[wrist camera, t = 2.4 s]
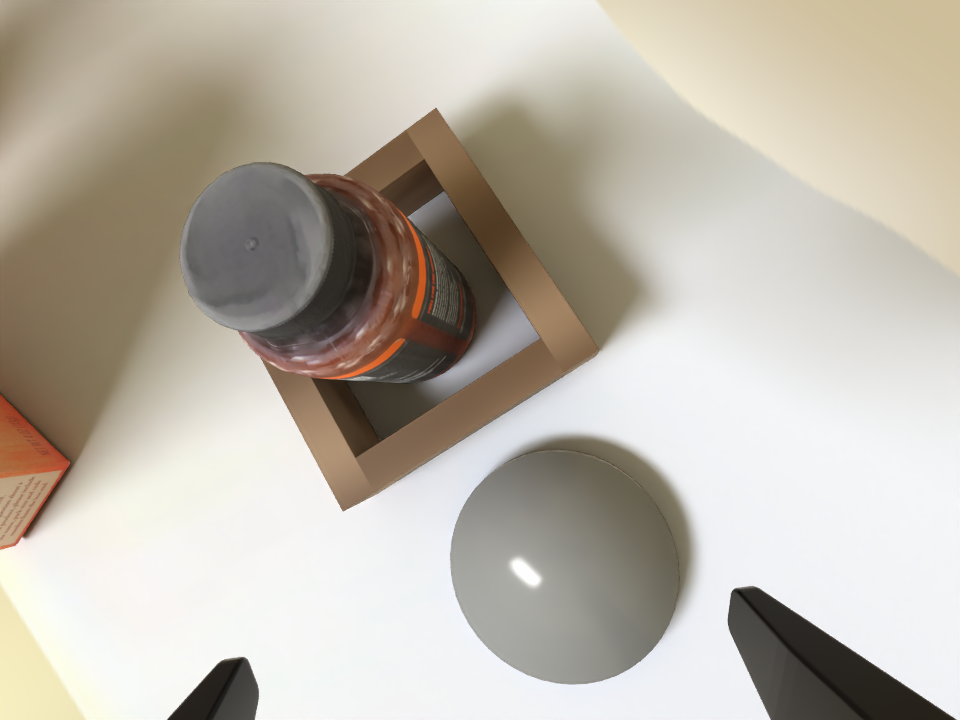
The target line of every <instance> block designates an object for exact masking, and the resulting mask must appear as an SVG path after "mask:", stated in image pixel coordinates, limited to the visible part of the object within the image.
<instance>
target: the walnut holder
mask: <svg viewBox="0 0 960 720" xmlns="http://www.w3.org/2000/svg"><path fill="white" fill-rule="evenodd" d="M344 176H346V177H350V178H353V179H356V180H358V181H360V182H362V183H364V184H366V185H368V186H370V187H372V188H374V189H375V190H377V191H378V192H379V193H381V194H382V195H383V196H385V197H386V198H387V199H388V200H389V201H391V202H392V203H393V204H394V205H395V207H396V208H397V209H398V210H400V211H401V212H402V213H403V214H404V215H405V216H406V217H407V216H409V215H410V214H411V213H413V212H414V211H416V210H417V209H418V208H420V207H421V206H423V205H424V204H426V203H427V202H428V201H430V200H431V199H433V198H434V197H435V196H437V195H438V194H440V193H441V192H442V191H445V192H446V194H447V195H448V197H449V198H450V200H451V201H452V203H453V204H454V206H455V207H456V209H457V211H458V212H459V214H460V215H461V217H462V218H463V220H464V221H465V223H466V224H467V226H468V227H469V229H470V230H471V232H472V234H473V235H474V237H475V238H476V240H477V241H478V243H479V244H480V246H481V247H482V249H483V250H484V252H485V253H486V255H487V257H488V258H489V260H490V261H491V263H492V264H493V266H494V267H495V269H496V270H497V272H498V273H499V275H500V276H501V278H502V280H503V281H504V283H505V284H506V286H507V287H508V289H509V290H510V292H511V293H512V295H513V296H514V298H515V299H516V301H517V303H518V304H519V306H520V307H521V309H522V310H523V312H524V313H525V315H526V316H527V318H528V319H529V321H530V322H531V324H532V326H533V327H534V329H535V330H536V332H537V333H538V335H539V336H540V338H541V339H539V340H538V341H536V342H534V343H533V344H531V345H530V346H528V347H527V348H525V349H524V350H522V351H521V352H519V353H517V354H516V355H514V356H513V357H511V358H510V359H508V360H507V361H505V362H503V363H502V364H500V365H499V366H497V367H496V368H494V369H493V370H491V371H490V372H488V373H486V374H485V375H483V376H482V377H480V378H479V379H477V380H476V381H474V382H472V383H471V384H469V385H468V386H466V387H465V388H463V389H462V390H460V391H459V392H457V393H455V394H454V395H452V396H451V397H449V398H448V399H446V400H445V401H443V402H441V403H440V404H438V405H437V406H435V407H434V408H432V409H431V410H429V411H428V412H426V413H424V414H423V415H421V416H420V417H418V418H417V419H415V420H414V421H412V422H410V423H409V424H407V425H406V426H404V427H403V428H401V429H400V430H398V431H397V432H395V433H393V434H392V435H390V436H389V437H387V438H386V439H384V440H383V441H381V442H380V440H379V439H378V437H377V435H376V433H375V431H374V430H373V428H372V426H371V424H370V423H369V421H368V419H367V417H366V415H365V414H364V412H363V410H362V408H361V407H360V405H359V403H358V401H357V400H356V398H355V396H354V394H353V392H352V391H351V389H350V387H349V385H348V384H347V382H346V380H336V379H333V380H331V379H323V378H312V377H305V376H300V375H296V374H292V373H289V372H285V371H283V370H281V369H279V368H277V367H275V366H273V365H271V364H269V363H268V362H266V361H265V360H264V359H262V358H261V359H262V361H263V363H264V365H265V367H266V369H267V370H268V372H269V374H270V376H271V378H272V380H273V382H274V384H275V385H276V387H277V389H278V391H279V393H280V395H281V397H282V398H283V400H284V402H285V404H286V406H287V408H288V410H289V412H290V413H291V415H292V417H293V419H294V421H295V423H296V425H297V427H298V428H299V430H300V432H301V434H302V436H303V438H304V440H305V442H306V443H307V445H308V447H309V449H310V451H311V453H312V455H313V456H314V458H315V460H316V462H317V464H318V466H319V468H320V470H321V471H322V473H323V475H324V477H325V479H326V481H327V483H328V485H329V486H330V488H331V490H332V492H333V494H334V496H335V498H336V500H337V501H338V503H339V505H340V507H341V509H342V511H345V510H347V509H349V508H351V507H353V506H355V505H357V504H359V503H361V502H363V501H364V500H366V499H368V498H370V497H372V496H374V495H376V494H377V493H379V492H381V491H382V490H384V489H385V488H387V487H389V486H390V485H392V484H393V483H395V482H397V481H398V480H400V479H401V478H403V477H404V476H406V475H408V474H409V473H411V472H412V471H414V470H416V469H417V468H419V467H420V466H422V465H424V464H425V463H427V462H428V461H430V460H432V459H433V458H435V457H436V456H438V455H439V454H441V453H443V452H444V451H446V450H447V449H449V448H451V447H452V446H454V445H455V444H457V443H459V442H460V441H462V440H463V439H465V438H466V437H468V436H470V435H471V434H473V433H474V432H476V431H478V430H479V429H481V428H482V427H484V426H486V425H487V424H489V423H490V422H492V421H493V420H495V419H497V418H498V417H500V416H501V415H503V414H505V413H506V412H508V411H509V410H511V409H513V408H514V407H516V406H517V405H519V404H520V403H522V402H524V401H525V400H527V399H528V398H530V397H532V396H533V395H535V394H536V393H538V392H540V391H541V390H543V389H544V388H546V387H547V386H549V385H551V384H552V383H554V382H555V381H557V380H559V379H560V378H562V377H563V376H565V375H567V374H568V373H570V372H571V371H573V370H575V369H576V368H578V367H579V366H581V365H582V364H584V363H586V362H587V361H589V360H590V359H592V358H594V357H595V356H596V354H597V353H598V351H599V349H598V347H597V346H596V344H595V343H594V341H593V340H592V339H591V337H590V336H589V334H588V333H587V331H586V330H585V328H584V327H583V325H582V324H581V322H580V321H579V319H578V318H577V316H576V315H575V313H574V312H573V310H572V309H571V307H570V306H569V304H568V303H567V301H566V300H565V298H564V297H563V295H562V294H561V292H560V291H559V289H558V288H557V286H556V285H555V283H554V282H553V281H552V279H551V278H550V276H549V275H548V273H547V272H546V270H545V269H544V267H543V266H542V264H541V263H540V261H539V260H538V258H537V257H536V255H535V254H534V252H533V251H532V249H531V248H530V246H529V245H528V243H527V242H526V240H525V239H524V237H523V236H522V234H521V233H520V231H519V230H518V228H517V227H516V226H515V224H514V223H513V221H512V220H511V218H510V217H509V215H508V214H507V212H506V211H505V209H504V208H503V206H502V205H501V203H500V202H499V200H498V199H497V197H496V196H495V194H494V193H493V191H492V190H491V188H490V187H489V185H488V184H487V182H486V181H485V179H484V178H483V176H482V175H481V173H480V172H479V171H478V169H477V168H476V166H475V165H474V163H473V162H472V160H471V159H470V157H469V156H468V154H467V153H466V151H465V150H464V148H463V147H462V145H461V144H460V142H459V141H458V139H457V138H456V136H455V135H454V133H453V132H452V130H451V129H450V127H449V126H448V124H447V123H446V121H445V120H444V118H443V117H442V116H441V114H440V113H439V111H438V110H437V108H435V109H434V110H432V111H431V112H430V113H428V114H427V115H426V116H424V117H423V118H422V119H420V120H419V121H418V122H416V123H415V124H413V125H412V126H411V127H409V128H408V129H407V130H405V131H404V132H403V133H401V134H400V135H399V136H397V137H396V138H394V139H393V140H392V141H390V142H389V143H388V144H386V145H385V146H384V147H382V148H381V149H380V150H378V151H377V152H376V153H374V154H373V155H371V156H370V157H369V158H367V159H366V160H365V161H363V162H362V163H361V164H359V165H358V166H357V167H355V168H354V169H352V170H351V171H350V172H348V173H347V174H346V175H344Z"/></svg>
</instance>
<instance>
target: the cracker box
mask: <svg viewBox="0 0 960 720" xmlns="http://www.w3.org/2000/svg"><path fill="white" fill-rule="evenodd" d="M69 465H70V461H68V460H67V459H66V458H65V457H64V456H63V455H62V454H61V453H59V452H58V451H57V449H55V448H54V447H53V446H52V445H51V444H50V443H49V442H48V441H47V440H46V439H45V438H44V437H43V436H42V435H41V434H40V433H39V432H38V431H37V430H36V429H35V428H34V427H33V426H32V425H31V424H30V423H29V422H28V421H27V420H26V419H25V418H24V417H23V416H22V415H21V414H20V413H19V412H18V411H17V410H16V409H15V408H14V407H12V406H11V404H10V403H9V402H8V401H7V400H6V399H5V398H4V397H3V396H2V395H0V550H1V549H5V548H9V547H12V546H15V545H16V544H17V543H18V542H19V540H20V539H21V537H22V536H23V534H24V533H25V531H26V530H27V528H28V527H29V525H30V523H31V522H32V521H33V519H34V518H35V516H36V515H37V513H38V512H39V510H40V509H41V507H42V506H43V504H44V503H45V501H46V500H47V498H48V496H49V495H50V493H51V492H52V490H53V489H54V487H55V486H56V484H57V483H58V481H59V480H60V478H61V477H62V475H63V474H64V472H65V471H66V469H67V468H68V467H69Z"/></svg>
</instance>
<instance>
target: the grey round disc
mask: <svg viewBox="0 0 960 720" xmlns="http://www.w3.org/2000/svg"><path fill="white" fill-rule="evenodd" d="M450 561H451V575H452V582H453V586H454V590H455V594H456V597H457V600H458V602H459V605H460V607H461V610H462V612H463V614H464V616H465V618H466V619H467V621H468V623H469V625H470V626H471V628H472V629H473V631H474V632H475V633H476V635H477V636H478V637H479V639H480V640H481V641H482V642H483V643H484V644H485V645H486V646H487V647H488V649H490V650H491V651H492V652H493V653H494V654H495V655H496V656H498V657H499V658H500V659H501V660H503V661H504V662H506V663H507V664H509V665H510V666H512V667H513V668H515V669H517V670H519V671H521V672H523V673H525V674H527V675H530V676H532V677H535V678H538V679H541V680H545V681H549V682H554V683H561V684H588V683H593V682H598V681H603V680H606V679H608V678H611V677H614V676H617V675H619V674H621V673H623V672H625V671H626V670H628V669H630V668H631V667H633V666H634V665H636V664H637V663H638V662H640V661H641V660H642V659H643V658H644V657H645V656H646V655H647V654H648V653H650V652H651V651H652V650H653V648H654V647H655V646H656V644H657V643H658V642H659V640H660V639H661V638H662V636H663V634H664V632H665V631H666V629H667V627H668V625H669V623H670V620H671V618H672V615H673V612H674V610H675V605H676V601H677V596H678V587H679V566H678V558H677V553H676V548H675V544H674V541H673V538H672V535H671V532H670V530H669V528H668V526H667V524H666V522H665V519H664V517H663V516H662V514H661V513H660V511H659V509H658V508H657V506H656V505H655V503H654V502H653V501H652V499H651V498H650V497H649V496H648V494H647V493H646V492H645V491H644V490H643V488H642V487H641V486H640V485H639V484H637V483H636V482H635V481H634V480H633V479H632V478H631V477H630V476H629V475H627V474H626V473H624V472H623V471H622V470H620V469H619V468H617V467H616V466H614V465H612V464H610V463H608V462H607V461H605V460H602V459H600V458H597V457H595V456H592V455H589V454H585V453H581V452H576V451H569V450H544V451H537V452H533V453H529V454H525V455H522V456H520V457H517V458H515V459H512V460H510V461H508V462H507V463H505V464H503V465H502V466H500V467H498V468H497V469H496V470H495V471H493V472H492V473H491V474H490V475H488V476H487V477H486V478H485V479H484V480H483V481H482V482H481V483H480V484H479V485H478V486H477V487H476V488H475V490H474V491H473V492H472V494H471V495H470V497H469V498H468V499H467V501H466V503H465V505H464V506H463V508H462V510H461V512H460V514H459V517H458V520H457V522H456V525H455V529H454V533H453V537H452V543H451V553H450Z"/></svg>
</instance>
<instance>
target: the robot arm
mask: <svg viewBox="0 0 960 720" xmlns="http://www.w3.org/2000/svg"><path fill="white" fill-rule="evenodd" d="M728 626H729V630H730V633H731V635H732V637H733V640H734V642H735V644H736V646H737V648H738V650H739V653H740V655H741V657H742V659H743V661H744V663H745V665H746V668H747V670H748V672H749V674H750V676H751V678H752V681H753V683H754V685H755V687H756V689H757V691H758V694H759V696H760V698H761V700H762V702H763V704H764V706H765V709H766V711H767V713H768V715H769V717H770V719H771V720H956V719H955V718H953V717H952V716H950V715H949V714H947V713H946V712H944V711H943V710H941V709H940V708H938V707H937V706H935V705H934V704H932V703H931V702H929V701H928V700H926V699H925V698H923V697H922V696H920V695H919V694H917V693H916V692H914V691H913V690H911V689H910V688H908V687H907V686H905V685H904V684H902V683H901V682H899V681H898V680H896V679H895V678H893V677H892V676H890V675H889V674H887V673H886V672H884V671H883V670H881V669H880V668H878V667H877V666H875V665H874V664H872V663H871V662H869V661H868V660H866V659H865V658H863V657H862V656H860V655H859V654H857V653H856V652H854V651H853V650H851V649H850V648H848V647H847V646H845V645H844V644H842V643H841V642H839V641H838V640H836V639H835V638H833V637H832V636H830V635H829V634H827V633H826V632H824V631H823V630H821V629H820V628H818V627H817V626H815V625H814V624H812V623H811V622H809V621H808V620H806V619H805V618H803V617H802V616H800V615H799V614H797V613H796V612H794V611H793V610H791V609H789V608H788V607H786V606H785V605H783V604H782V603H780V602H779V601H777V600H776V599H774V598H773V597H771V596H770V595H768V594H767V593H765V592H764V591H762V590H761V589H759V588H757V587H754V586H748V587H741V588H735V589H734V590H733V591H732V593H731V598H730V606H729V613H728ZM258 699H259V689H258V685H257V682H256V679H255V677H254V674H253V671H252V669H251V666H250V664H249V661H248V659H246V658H245V657H237V658H230V659H225V660H222V661H221V662H219V663H218V664H217V665H216V666H215V667H214V668H213V669H212V671H211V672H210V673H209V674H208V675H207V676H206V677H205V678H204V679H203V680H202V682H201V683H200V684H199V685H198V686H197V687H196V688H195V689H194V690H193V691H192V693H191V694H190V695H189V696H188V697H187V698H186V699H185V700H184V701H183V702H182V704H181V705H180V706H179V707H178V708H177V709H176V710H175V711H174V712H173V713H172V715H171V716H170V717H169V718H168V719H167V720H255V715H256V710H257V705H258Z"/></svg>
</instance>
